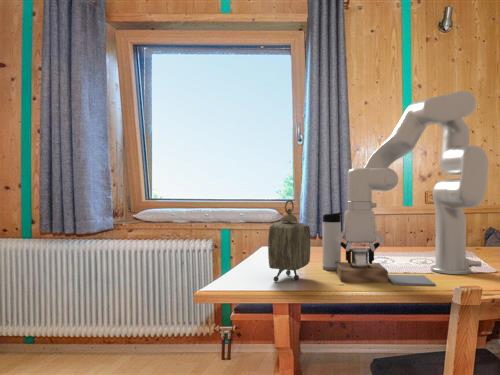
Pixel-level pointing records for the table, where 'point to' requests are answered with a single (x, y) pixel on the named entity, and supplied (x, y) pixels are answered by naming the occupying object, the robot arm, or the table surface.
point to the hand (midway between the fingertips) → (359, 262)
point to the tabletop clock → (288, 244)
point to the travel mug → (331, 241)
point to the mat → (410, 280)
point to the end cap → (359, 257)
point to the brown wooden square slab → (362, 273)
